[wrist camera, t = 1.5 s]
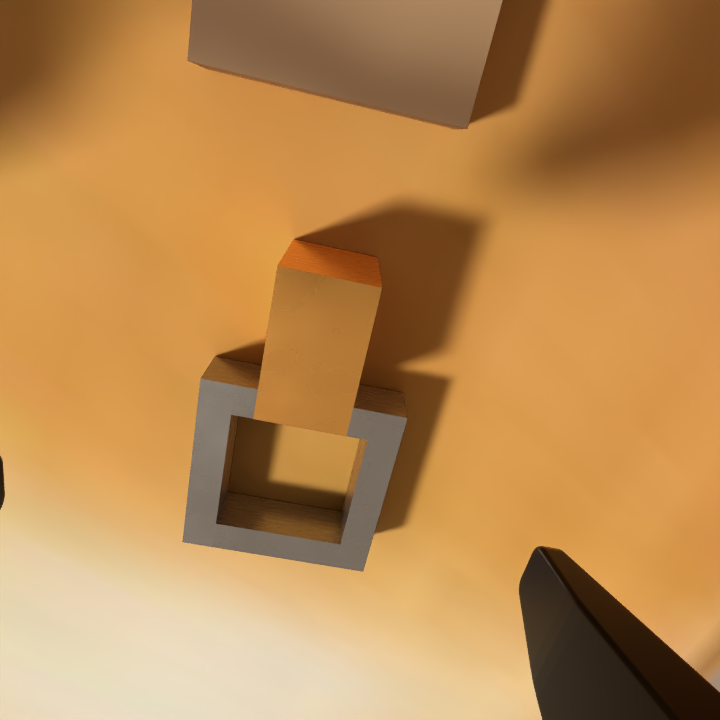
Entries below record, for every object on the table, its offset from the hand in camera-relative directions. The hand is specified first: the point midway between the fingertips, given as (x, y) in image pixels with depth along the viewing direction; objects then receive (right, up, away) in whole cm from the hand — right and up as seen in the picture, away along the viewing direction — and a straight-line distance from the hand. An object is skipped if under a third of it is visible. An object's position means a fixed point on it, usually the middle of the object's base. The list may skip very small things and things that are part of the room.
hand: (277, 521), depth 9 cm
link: (-1, +1, +12) cm, 12 cm away
